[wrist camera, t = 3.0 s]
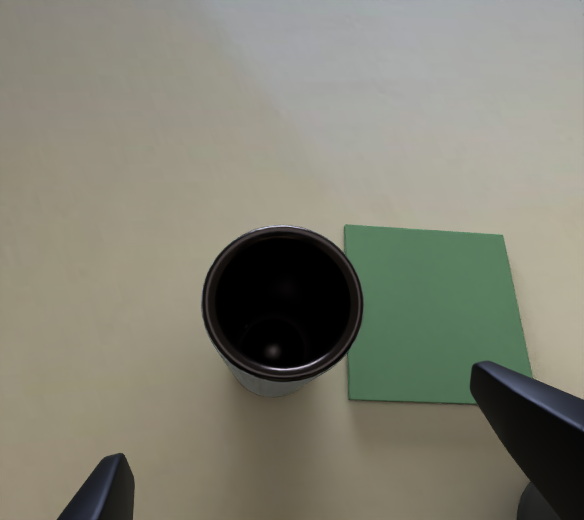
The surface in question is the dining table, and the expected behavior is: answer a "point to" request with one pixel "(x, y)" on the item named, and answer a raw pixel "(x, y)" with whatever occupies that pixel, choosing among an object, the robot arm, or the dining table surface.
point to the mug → (534, 506)
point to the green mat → (430, 313)
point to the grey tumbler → (281, 307)
